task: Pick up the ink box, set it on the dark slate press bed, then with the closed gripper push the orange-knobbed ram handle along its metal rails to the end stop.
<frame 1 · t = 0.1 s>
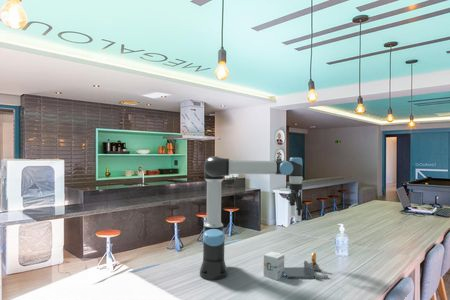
hand: (295, 218, 185), 28 cm above the table, fingers open, 13 cm apart
bed: (296, 273, 171), on the table
lever: (313, 261, 178), point 5 cm above the table, slide at 0.0 cm
ink box: (273, 276, 168), on the table
rails: (316, 273, 172), on the table
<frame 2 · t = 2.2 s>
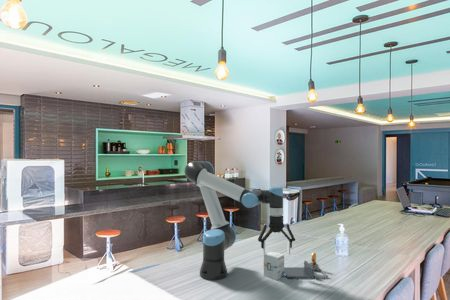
hand: (276, 254, 168), 12 cm above the table, fingers open, 13 cm apart
ink box: (273, 276, 168), on the table, touching gripper
everything else where it was.
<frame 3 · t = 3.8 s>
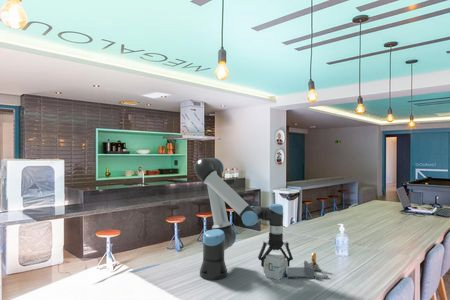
hand: (275, 272, 168), 2 cm above the table, fingers closed on ink box, 12 cm apart
ink box: (275, 276, 168), on the table, touching bed, gripper
everything else where it was.
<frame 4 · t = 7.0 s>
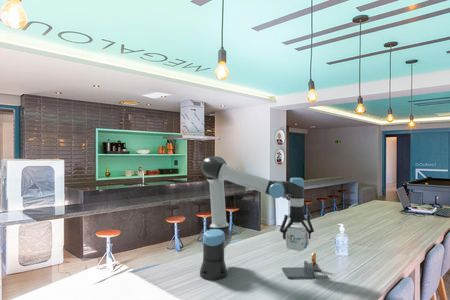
hand: (296, 244, 171), 16 cm above the table, fingers closed on ink box, 11 cm apart
ink box: (296, 248, 171), point 14 cm above the table, touching gripper
everything else where it was.
when the fingers open (5 cm above the table, at t = 9.9 s): ink box drops 2 cm, resting on bed.
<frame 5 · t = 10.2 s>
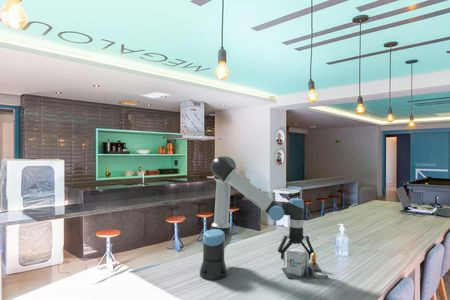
hand: (295, 265, 171), 5 cm above the table, fingers open, 12 cm apart
ink box: (296, 272, 171), point 1 cm above the table, touching bed, gripper
everything else where it was.
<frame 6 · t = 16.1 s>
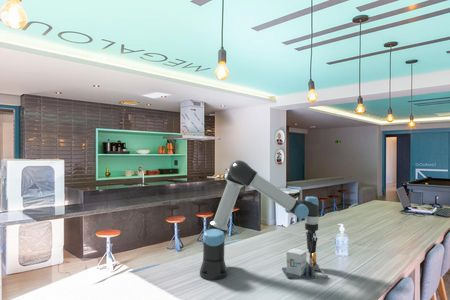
hand: (311, 262, 182), 2 cm above the table, fingers closed
lever: (313, 261, 177), point 5 cm above the table, slide at 0.3 cm, touching gripper
ink box: (296, 272, 171), point 1 cm above the table, touching bed
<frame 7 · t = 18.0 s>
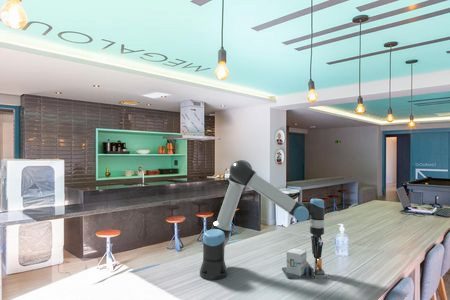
hand: (316, 268, 173), 2 cm above the table, fingers closed
lever: (319, 267, 168), point 5 cm above the table, slide at 9.1 cm, touching gripper
everything else where it was.
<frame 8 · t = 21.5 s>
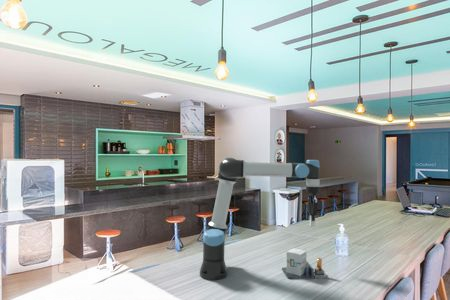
hand: (312, 226, 181), 24 cm above the table, fingers closed
lever: (319, 267, 169), point 5 cm above the table, slide at 9.0 cm
everything else where it was.
at the end: ink box 0.3 cm from the bed (horizontally); ink box tilted 0°; lever slide at 9.0 cm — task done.
